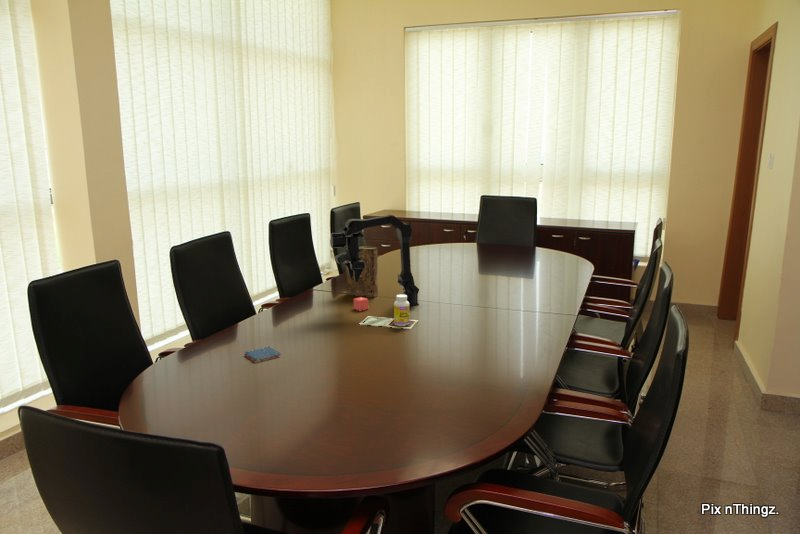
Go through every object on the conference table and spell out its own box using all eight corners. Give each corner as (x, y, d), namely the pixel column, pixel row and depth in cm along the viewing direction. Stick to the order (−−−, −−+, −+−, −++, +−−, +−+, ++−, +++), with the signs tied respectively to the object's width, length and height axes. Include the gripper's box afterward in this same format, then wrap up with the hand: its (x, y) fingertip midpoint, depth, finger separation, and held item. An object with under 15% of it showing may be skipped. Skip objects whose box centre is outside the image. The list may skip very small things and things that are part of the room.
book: (379, 295, 313) (378, 247, 308) (375, 297, 308) (374, 249, 303) (350, 292, 319) (349, 245, 314) (346, 294, 314) (344, 247, 309)
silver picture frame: (418, 321, 268) (418, 320, 268) (410, 329, 257) (410, 328, 257) (368, 317, 275) (368, 316, 275) (359, 324, 264) (359, 323, 264)
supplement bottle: (398, 327, 260) (398, 298, 257) (391, 323, 266) (391, 294, 263) (412, 325, 263) (412, 296, 260) (404, 321, 269) (404, 293, 266)
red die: (362, 307, 291) (362, 295, 290) (368, 309, 288) (368, 297, 287) (353, 308, 288) (353, 297, 287) (359, 311, 285) (359, 299, 283)
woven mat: (243, 356, 228) (242, 351, 227) (269, 350, 234) (269, 345, 234) (255, 364, 220) (254, 359, 219) (281, 358, 226) (281, 353, 226)
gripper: (331, 244, 286) (332, 276, 290) (341, 251, 269) (341, 285, 273) (354, 243, 290) (354, 274, 293) (365, 249, 273) (365, 283, 276)
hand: (353, 279), depth 284 cm, fingers open, 9 cm apart
